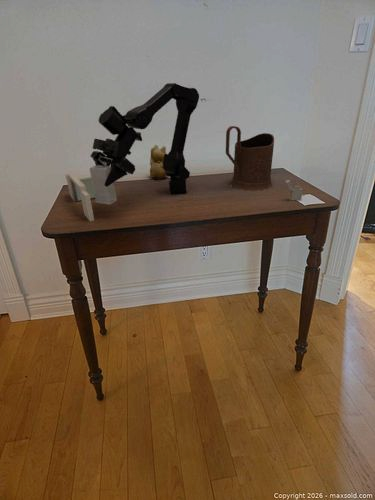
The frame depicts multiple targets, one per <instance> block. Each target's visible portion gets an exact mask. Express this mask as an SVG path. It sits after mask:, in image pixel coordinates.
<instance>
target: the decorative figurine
mask: <svg viewBox="0 0 375 500" xmlns="http://www.w3.org/2000/svg"><path fill="white" fill-rule="evenodd" d="M166 149H167V147H166V146H165V145H163V146H162V147H161V148H159V145H157V144H155V145H154V146H153V147H151V148H150V160H149V161H150V162H149V166H150V168H149V174H150V177H151V179H153V180H159V179H160V180H162V179H166V178H167V177H168V176H167V175H166V172H165V171H164V169H163V164H162V163H163V161H164V155H165V154H167V151H166Z"/></svg>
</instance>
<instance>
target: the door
mask: <svg viewBox="0 0 375 500" xmlns="http://www.w3.org/2000/svg"><path fill="white" fill-rule="evenodd" d="M78 179H79V180H80V181H81V182H82V183H83V184H84V185H85V187H86V192H87V193H88V194H89V195H90V199H94V198H95V194H94V189H93V183H92V178H91V176H89V177H84V178H82V177H81V178H78ZM71 184H72V188H73V193H74V198H75V201H74V202H79V201H82V200H81V195H80V190H79V188H78V187H77V186H76V185H75V184H74V183H73V181H72V180H71Z"/></svg>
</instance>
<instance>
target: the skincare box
mask: <svg viewBox="0 0 375 500" xmlns="http://www.w3.org/2000/svg"><path fill="white" fill-rule="evenodd" d="M110 171H111V165H110V166H102V165H97V166H96V165H94V166H92V167H89V172H90V177H91V178H92V183H93V189H94V194H95V203H98V204H102V205H109V206H110V205H112V204H113V203H115V202H117V200H118V199H117V193H116V187H115V185H116V184H115V182H114V183H112V184H111V185H109V186H108V187H106V186H105V185H104V184H105V182H106V179H107V177H108V175H109V173H110Z"/></svg>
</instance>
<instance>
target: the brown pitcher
mask: <svg viewBox="0 0 375 500" xmlns="http://www.w3.org/2000/svg"><path fill="white" fill-rule="evenodd" d="M232 129H235V130H236V132H237V135H236V136H237V138H236V142H235V143H234V153H233V155H234V158H233V156H232V155H231V154H230V138H231V137H230V136H231V135H230V134H231V131H232ZM241 130H242V129H241V128H240V127H239V126H235V125H230V126H229V127H227V129H226V131H225V132H226V133H225V155H226V156H227V157H228V159H229V160H230V161H231V162H232V164H233V177H232V180H231V181H230V183H231V185H232V186H233V187H232V186H231V185H230V186H231V187H232V188H234V187H235V188H234V189H236V188H238V189H237V190H240V189H243V190H242V191H248V190H249V191H250V192H253V191H257V190H259V191H265V190H264V189H266V190H268V188H269V189H271V188H273V186H274V185H273V182H272V177H271V175H272V166H273V156H274V155H273V154H274V147H275V137H274V135H273V134H272V133H266V132H264V133H259V134H257V135H255V136H251V137H250V138H248V139H244V140H242V138H241V137H242V136H241V135H242V131H241ZM272 185H273V186H272ZM270 187H271V188H270Z"/></svg>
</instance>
